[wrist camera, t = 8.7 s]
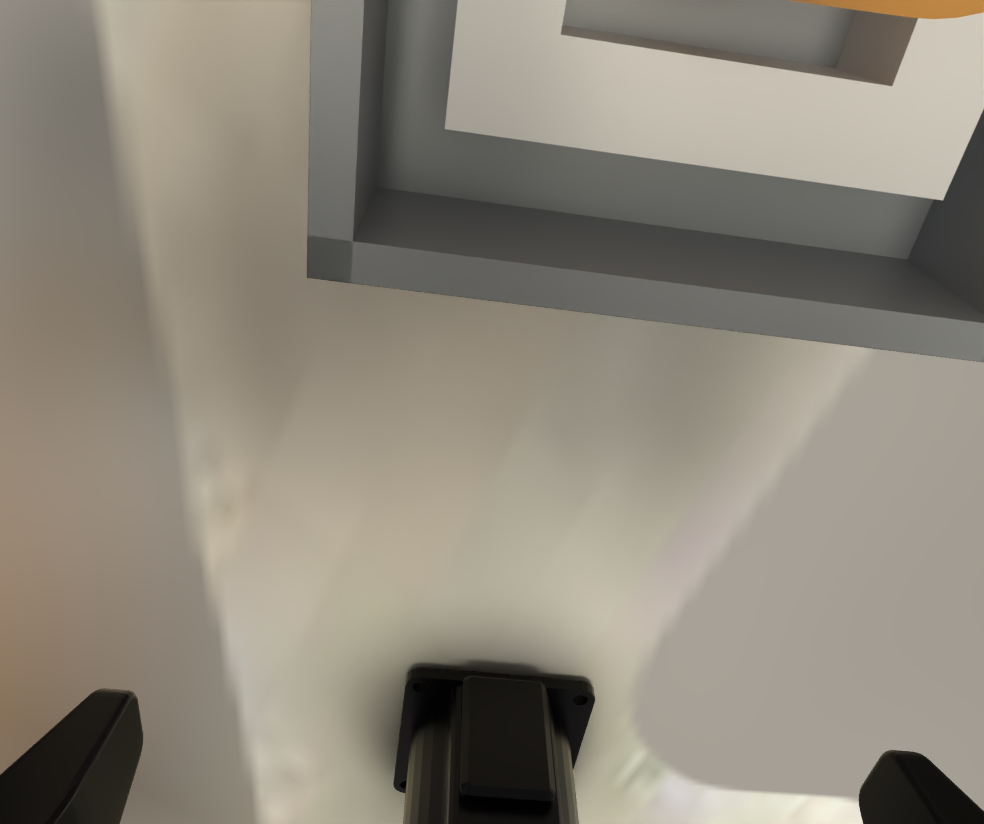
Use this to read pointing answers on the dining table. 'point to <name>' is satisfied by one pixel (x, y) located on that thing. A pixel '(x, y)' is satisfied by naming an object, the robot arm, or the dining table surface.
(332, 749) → the dining table surface
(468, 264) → the inlet box
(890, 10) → the plug
